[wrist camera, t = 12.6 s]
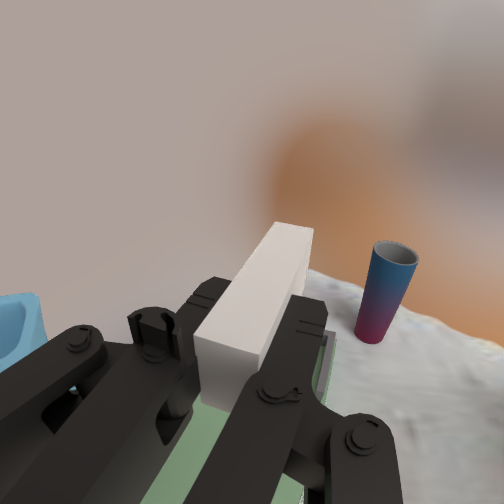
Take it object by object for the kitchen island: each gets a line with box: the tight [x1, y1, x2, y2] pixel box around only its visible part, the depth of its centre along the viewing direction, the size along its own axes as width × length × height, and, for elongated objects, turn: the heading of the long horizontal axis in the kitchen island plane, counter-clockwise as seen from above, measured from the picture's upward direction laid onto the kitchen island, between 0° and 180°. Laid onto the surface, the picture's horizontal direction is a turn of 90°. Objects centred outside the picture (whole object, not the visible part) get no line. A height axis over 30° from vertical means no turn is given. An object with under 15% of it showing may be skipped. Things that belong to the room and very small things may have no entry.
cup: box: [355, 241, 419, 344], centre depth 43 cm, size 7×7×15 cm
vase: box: [0, 293, 76, 390], centre depth 20 cm, size 8×8×20 cm
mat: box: [140, 339, 337, 504], centre depth 32 cm, size 34×16×1 cm, turn 162°
